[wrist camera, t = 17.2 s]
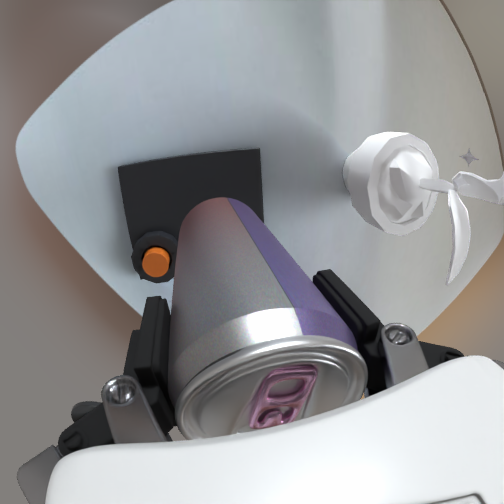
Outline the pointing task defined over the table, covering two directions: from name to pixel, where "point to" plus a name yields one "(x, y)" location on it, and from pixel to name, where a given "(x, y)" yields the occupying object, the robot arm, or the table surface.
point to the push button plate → (183, 196)
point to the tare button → (156, 261)
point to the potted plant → (412, 189)
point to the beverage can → (251, 331)
